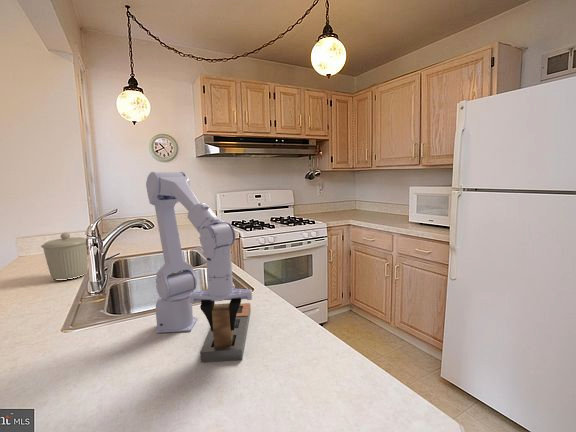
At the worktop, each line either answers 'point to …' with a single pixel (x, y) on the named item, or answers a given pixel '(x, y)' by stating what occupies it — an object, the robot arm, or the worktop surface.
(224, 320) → the peg
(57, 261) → the canister
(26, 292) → the worktop surface
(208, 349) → the rail
